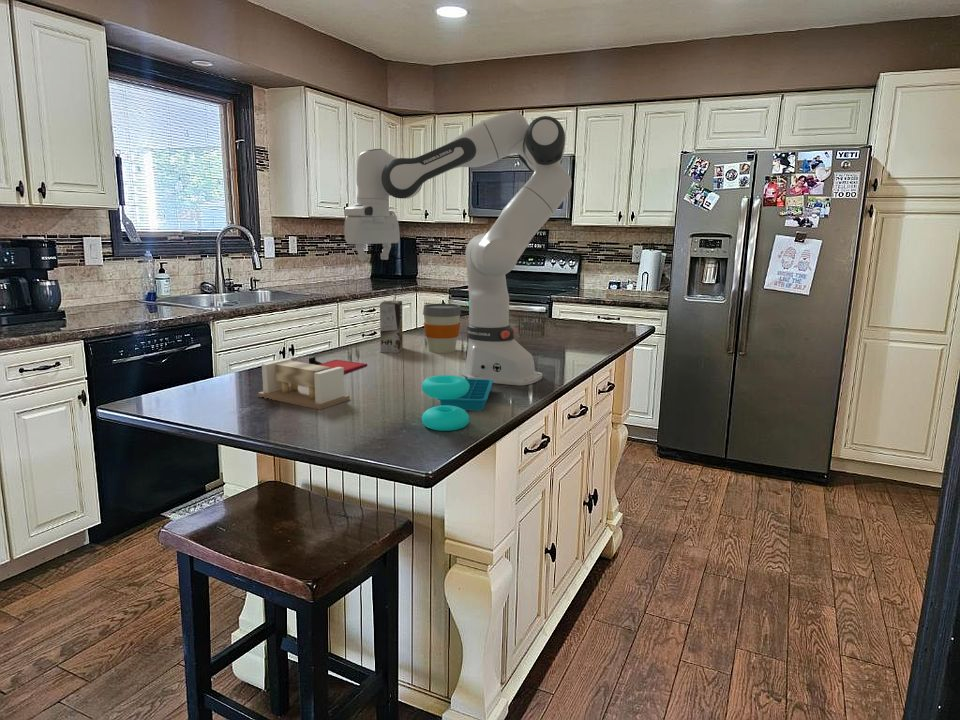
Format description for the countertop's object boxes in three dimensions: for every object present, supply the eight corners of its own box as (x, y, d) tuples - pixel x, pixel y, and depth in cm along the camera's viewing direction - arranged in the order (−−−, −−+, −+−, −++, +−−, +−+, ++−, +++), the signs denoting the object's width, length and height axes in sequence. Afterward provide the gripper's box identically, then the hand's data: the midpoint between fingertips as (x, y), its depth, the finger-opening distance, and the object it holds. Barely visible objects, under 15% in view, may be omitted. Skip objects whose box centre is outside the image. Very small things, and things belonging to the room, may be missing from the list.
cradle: (349, 399, 153) (348, 367, 151) (319, 409, 145) (318, 375, 143) (289, 388, 163) (287, 357, 161) (258, 396, 154) (256, 364, 153)
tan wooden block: (276, 380, 154) (275, 364, 153) (291, 376, 158) (291, 360, 157) (316, 388, 148) (315, 371, 147) (331, 383, 152) (330, 367, 151)
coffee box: (399, 353, 208) (399, 303, 205) (379, 352, 208) (379, 303, 205) (403, 347, 217) (402, 300, 214) (384, 347, 217) (383, 300, 214)
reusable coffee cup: (427, 346, 221) (427, 302, 218) (463, 347, 219) (463, 304, 216) (419, 353, 209) (419, 307, 205) (457, 354, 207) (457, 308, 204)
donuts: (476, 376, 136) (458, 387, 127) (476, 421, 138) (458, 435, 129) (434, 372, 139) (413, 382, 130) (434, 416, 141) (413, 429, 132)
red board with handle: (255, 382, 168) (301, 390, 163) (255, 372, 168) (301, 379, 162) (325, 362, 195) (367, 368, 190) (325, 353, 195) (367, 359, 189)
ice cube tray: (493, 390, 165) (493, 379, 164) (486, 413, 145) (486, 400, 144) (448, 388, 166) (448, 377, 165) (435, 411, 146) (435, 398, 146)
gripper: (387, 211, 188) (388, 258, 191) (339, 209, 171) (341, 261, 174) (404, 211, 185) (405, 259, 188) (358, 209, 168) (359, 262, 171)
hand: (374, 260), depth 181 cm, fingers open, 8 cm apart
